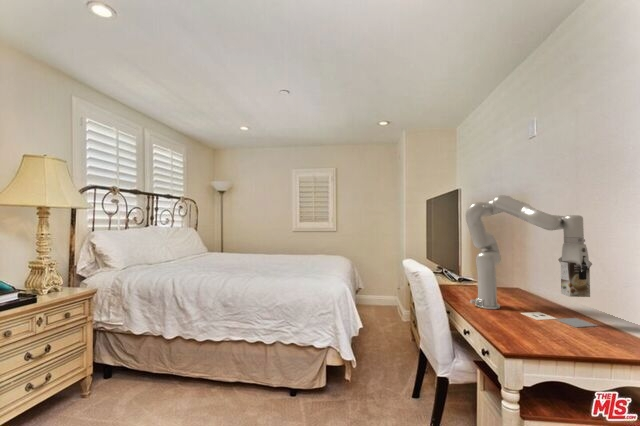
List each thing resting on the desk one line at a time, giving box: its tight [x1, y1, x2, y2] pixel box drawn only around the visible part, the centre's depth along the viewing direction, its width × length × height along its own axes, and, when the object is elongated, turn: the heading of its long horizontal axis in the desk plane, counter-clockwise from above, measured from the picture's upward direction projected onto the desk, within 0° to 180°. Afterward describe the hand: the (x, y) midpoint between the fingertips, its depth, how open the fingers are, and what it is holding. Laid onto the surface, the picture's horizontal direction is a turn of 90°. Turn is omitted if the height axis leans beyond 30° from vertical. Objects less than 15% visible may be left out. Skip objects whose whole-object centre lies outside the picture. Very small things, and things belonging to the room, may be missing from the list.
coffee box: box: [560, 261, 591, 298], centre depth 148 cm, size 9×6×16 cm
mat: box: [555, 317, 599, 329], centre depth 147 cm, size 11×11×1 cm
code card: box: [520, 311, 558, 321], centre depth 158 cm, size 11×11×1 cm
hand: (574, 277), depth 148 cm, fingers closed on coffee box, 7 cm apart
